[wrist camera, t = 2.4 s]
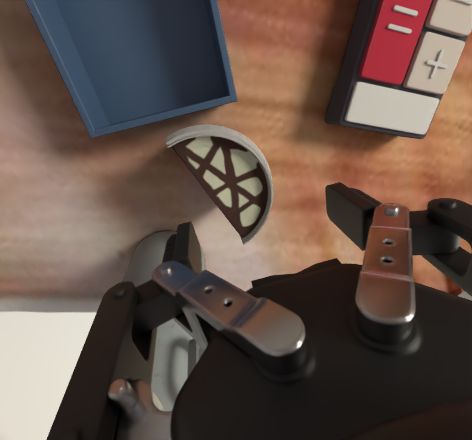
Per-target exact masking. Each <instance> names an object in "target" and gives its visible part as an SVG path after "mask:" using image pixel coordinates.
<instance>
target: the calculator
mask: <svg viewBox="0 0 472 440" xmlns="http://www.w3.org/2000/svg"><path fill="white" fill-rule="evenodd" d="M471 29H472V0H360V2H359V6H358V10H357V13H356V17H355V20H354V24H353V28H352V31H351V35H350V39H349V42H348V46H347V50H346V53H345V57H344V61H343V64H342V68H341V72H340V75H339V78H338V80H337V82H336V84H335V86H334V88H333V91H332V95H331V99H330V102H329V106H328V110H327V114H326V117H325V122H326V123H328V124H332V125H338V126H344V127H349V128H355V129H361V130H367V131H372V132H378V133H384V134H389V135H395V136H401V137H409V138H416V139H423V138H424V137H425V136H426V134H427V131H428V129H429V126H430V124H431V122H432V119H433V117H434V115H435V112H436V110H437V108H438V105H439V103H440V100H441V98H442V96H443V93H444V92H445V90H446V88H447V86H448V83H449V81H450V79H451V76H452V74H453V72H454V69H455V67H456V65H457V62H458V60H459V57H460V55H461V53H462V50H463V48H464V45H465V41H466V39H467V37H468V34H469V33H470V31H471Z"/></svg>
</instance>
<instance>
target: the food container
mask: <svg viewBox="0 0 472 440" xmlns="http://www.w3.org/2000/svg"><path fill="white" fill-rule="evenodd" d="M166 143H167V145H168V148H169V147H171V146H172V148H173V149H174V150H175V152H176V153H177V155H178V156H179V157H180V158H181V159H182V160H183V162H184V163H185V164H186V165H187V167H188V168H189V169H190V171H191V172H192V173H193V175H194V176H195V177H196V179H197V180H198V181H199V183H200V184H201V185H202V187H203V188H204V189H205V191H206V192H207V194H208V195H209V196H210V198H211V199H212V200H213V201H214V203H215V204H216V205H217V206H218V208H219V209H220V210H221V211H222V213H223V214H224V215H225V216H226V218H227V219H228V220H229V222H230V223H231V224H232V226H233V227H234V228H235V229H236V231H237V232H238V233H239V234H240V237H241V239H242V242H243V245H245V244H246V243H247V242H249V241H250V240H251V239H252V238H253V237H254V236H255V235H256V234H257V233H258V232H259V231H260V229H261V228H262V227H263V225H264V223H265V222H266V220H267V217H268V215H269V212H270V210H271V206H272V201H273V182H272V176H271V172H270V168H269V165H268V163H267V161H266V159H265V157H264V155H263V154H262V152H261V151H260V150H259V148H258V147H257V146H256V145H255V144H254V143H253V142H252V141H251V140H250V139H248V138H247V137H245V136H244V135H243V134H241V133H239V132H237V131H235V130H233V129H230V128H227V127H223V126H219V125H211V124H205V125H194V126H190V127H185V128H183V129H180V130H178V131H175V132H174V133H172V134H170V135H169V136H167V137H166Z"/></svg>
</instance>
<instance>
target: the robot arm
mask: <svg viewBox="0 0 472 440" xmlns="http://www.w3.org/2000/svg"><path fill="white" fill-rule="evenodd" d="M326 208H327V214H328V217H329V219H330V220H331V221H332V222H333V223H334V224H335V225H336V226H337V227H338V228H339V229H340V230H341V231H342V232H343V233H345V234H346V235H347V236H348V237H349V238H350V239H351V240H352V241H353V242H354V243H355V244H356V245H357V246H358V247H359V248H360V249H361V250H362V251H363V250H365V255H364V260H363V265H358V264H341V263H340V261H339V260H338V259H337V258H336V259H332V260H328V261H325V262H321V263H317V264H315V265H313V266H310V267H308V268H306V269H304V270H302V271H300V272H298V273H295V274H285V275H273V276H269V277H265V278H261V279H258V280H254V281H251V282H252V286H253V288H251V289H249V290H247V291H246V292H245V291H243V290H241V289H239V288H238V287H236V286H234V285H232V284H231V283H229V282H227V281H225V280H223V279H222V278H220V277H218V276H216V275H214V274H213V273H211V272H209V271H207V270H203V271H202V254H201V248H200V244H199V242H198V239H197V236H196V233H195V230H194V227H193V225H192V223H191V221H190V222H187V223H183V224H179V225H178V228H177V234H173V235H171V236H170V237H169V239H168V240H167V242H166V247H165V252H164V255H163V260H162V264H161V265H159V266H158V267H156V268H155V269H154V271H153V272H152V279H151V280H149V281H147V282H145V283H143V284H141V285H139V286H137V287H135V285H134V283H133V282H130V281H126V282H121V283H119V284H117V285H115V286H113V287H112V288H110V289H109V290H108V291H107V292H106V293H105V295H104V296H103V298H102V301H101V303H100V306H99V309H98V311H97V314H96V316H95V319H94V321H93V324H92V326H91V329H90V331H89V334H88V336H87V339H86V342H85V344H84V346H83V349H82V351H81V354H80V357H79V359H78V362H77V364H76V367H75V369H74V372H73V374H72V377H71V379H70V382H69V385H68V387H67V389H66V392H65V394H64V397H63V400H62V402H61V404H60V407H59V410H58V412H57V415H56V417H55V420H54V422H53V425H52V427H51V430H50V432H49V435H48V437H47V440H472V301H471V300H468V299H465V298H462V297H459V296H456V295H453V294H449V293H446V292H443V291H440V290H437V289H434V288H431V287H428V286H425V285H422V284H419V283H416V282H415V281H414V279H413V258H412V255H422V256H423V257H424V258H425V259H426V260H427V261H429V262H430V263H431V264H432V265H433V266H435V267H436V268H437V269H438V270H440V271H441V272H442V273H443V274H445V275H446V276H447V277H448V278H450V279H451V280H452V281H453V282H454V283H456V284H457V285H458V286H459V287H461V288H462V289H463V290H464V291H466V292H467V293H468V294H469V295H471V296H472V254H470V253H469V252H467V251H466V250H464V249H462V248H461V247H459V244H460V239H461V238H463V239H464V240H466V241H467V242H468V243H469V244H470V246H471V248H472V205H469V204H467V203H465V202H463V201H460V200H457V199H451V198H439V199H434V200H431V201H430V202H429V203H428V206H427V210H423V211H410V212H409V209H408V208H407V207H406V206H404V205H401V204H395V203H386V204H382V203H380V202H379V201H377V200H375V199H374V198H372V197H370V196H369V195H367V194H365V193H364V192H362V191H360V190H358V189H354V188H349V187H347V186H345V185H344V184H342V183H340V182H339V183H335V184H331V185H327V186H326ZM171 319H173V320H174V321H175V322H176V323H177V324H178V325H179V326H180V327H182V328H183V329H184V330H185V331H186V332H187V333H188V334H189V335H190V336H191V337H192V338H193V339H194V340H195V341H196V342H197V343H198V345H199V346H200V348H201V349H202V350H203V354H202V355H201V357H200V358H199V360H198V362H197V363H196V365H195V366H194V368H193V370H192V371H191V373H190V375H189V376H188V378H187V379H186V381H185V383H184V384H183V386H182V388H181V389H180V391H179V393H178V395H177V397H176V400H175V403H174V406H173V409H172V411H164V409H163V404H162V402H161V400H160V399H159V397H158V396H157V394H156V393H155V392H154V390H153V389H152V387H151V383H152V373H153V364H154V355H155V345H156V336H157V327H158V326H160V325H162V324H164V323H166V322H168V321H169V320H171Z"/></svg>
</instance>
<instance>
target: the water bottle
mask: <svg viewBox="0 0 472 440" xmlns="http://www.w3.org/2000/svg"><path fill="white" fill-rule="evenodd" d="M173 234H177V232H174V231H163V232H157V233H155V234H152V235H150V236H148V237H146V238H145V239H144V240H143V241H142V242H141V243H140V244H139V245H138V246H137V248H136V249H135V252H134V254H133V257H132V259H131V262H130V264H129V267H128V269H127V272H126V274H125V277H124V279H123V282H126V281H130V282H133V283H134V285H135V287H137V286H139V285H141V284H143V283H145V282H147V281H149V280H151V279H152V272H153V271H154V269H155V268H156V267H158V266H159V265H161V264H162V260H163V255H164V252H165V247H166V242H167V240H168V239H169V237H170V236H171V235H173ZM200 248H201V246H200ZM201 254H202V271H203V270H206V264H205V255H204V252H203V250H202V248H201ZM202 354H203V350H202V349H201V348H200V346H199V345H198V343H197V342H196V341H195V340H194V339H193V338H192V337H191V336H190V335H189V334H188V333H187V332H186V331H185V330H184V329H183V328H182V327H180V326H179V325H178V324H177V323H176V322H175V321H174V320H173V319H171V320H169V321H168V322H166V323H164V324H162V325H160V326H158V327H157V336H156V345H155V355H154V364H153V373H152V383H151V387H152V389H153V390H154V392H155V393H156V394H157V396H158V397H159V399H160V400H161V402H162V404H163V409H164V411H172V409H173V406H174V403H175V400H176V397H177V395H178V393H179V391H180V389H181V388H182V386H183V384H184V383H185V381H186V379H187V378H188V376H189V375H190V373H191V371H192V370H193V368H194V366H195V365H196V363H197V362H198V360H199V358H200V357H201V355H202Z"/></svg>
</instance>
